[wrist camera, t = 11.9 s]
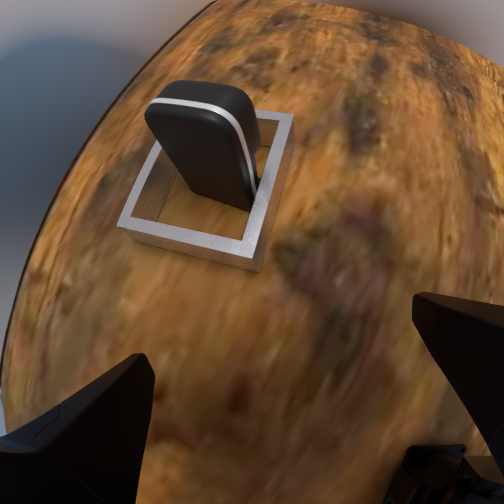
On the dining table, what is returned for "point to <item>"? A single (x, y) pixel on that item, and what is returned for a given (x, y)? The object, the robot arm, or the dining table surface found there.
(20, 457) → the robot arm
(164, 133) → the battery charger
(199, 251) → the hollow square metal frame
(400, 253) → the dining table surface
